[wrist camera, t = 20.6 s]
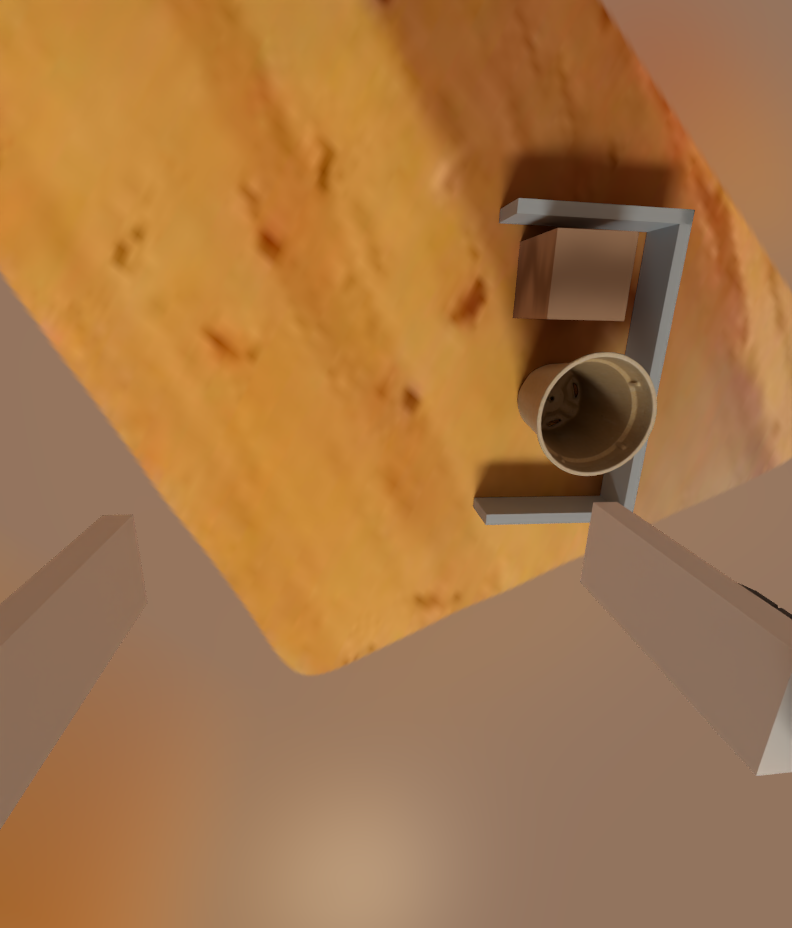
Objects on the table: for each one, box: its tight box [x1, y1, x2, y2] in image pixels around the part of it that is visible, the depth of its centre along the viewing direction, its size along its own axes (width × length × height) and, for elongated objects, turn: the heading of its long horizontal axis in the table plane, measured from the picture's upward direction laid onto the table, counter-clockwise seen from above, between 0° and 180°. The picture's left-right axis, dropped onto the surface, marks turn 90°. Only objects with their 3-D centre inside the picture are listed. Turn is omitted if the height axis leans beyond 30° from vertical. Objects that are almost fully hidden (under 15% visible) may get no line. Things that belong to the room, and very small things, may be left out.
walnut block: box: [513, 228, 639, 321], centre depth 37 cm, size 6×6×7 cm
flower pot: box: [518, 352, 657, 476], centre depth 39 cm, size 9×9×9 cm
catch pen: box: [473, 198, 695, 525], centre depth 41 cm, size 26×14×4 cm, turn 178°
